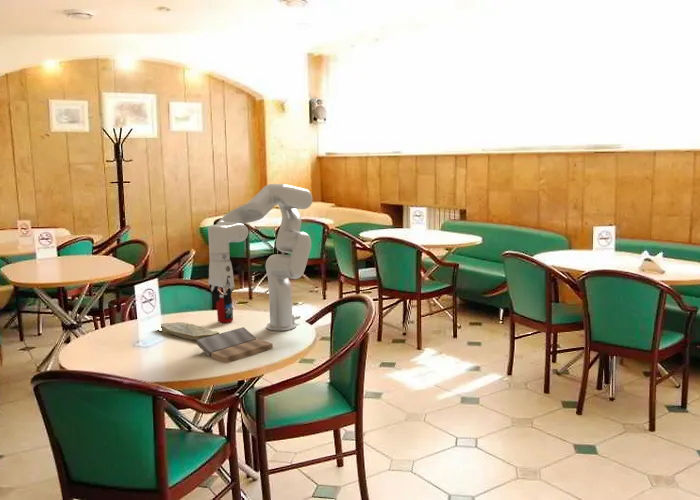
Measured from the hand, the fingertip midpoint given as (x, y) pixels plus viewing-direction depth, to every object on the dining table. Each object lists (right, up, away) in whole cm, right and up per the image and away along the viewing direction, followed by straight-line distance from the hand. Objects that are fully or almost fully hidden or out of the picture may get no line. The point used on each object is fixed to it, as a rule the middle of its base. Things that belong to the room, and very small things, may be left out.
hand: (221, 302), depth 249 cm
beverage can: (-6, -12, +39) cm, 41 cm away
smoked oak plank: (+2, -16, +1) cm, 16 cm away
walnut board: (+9, -19, -5) cm, 21 cm away
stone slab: (-19, -15, +22) cm, 33 cm away
